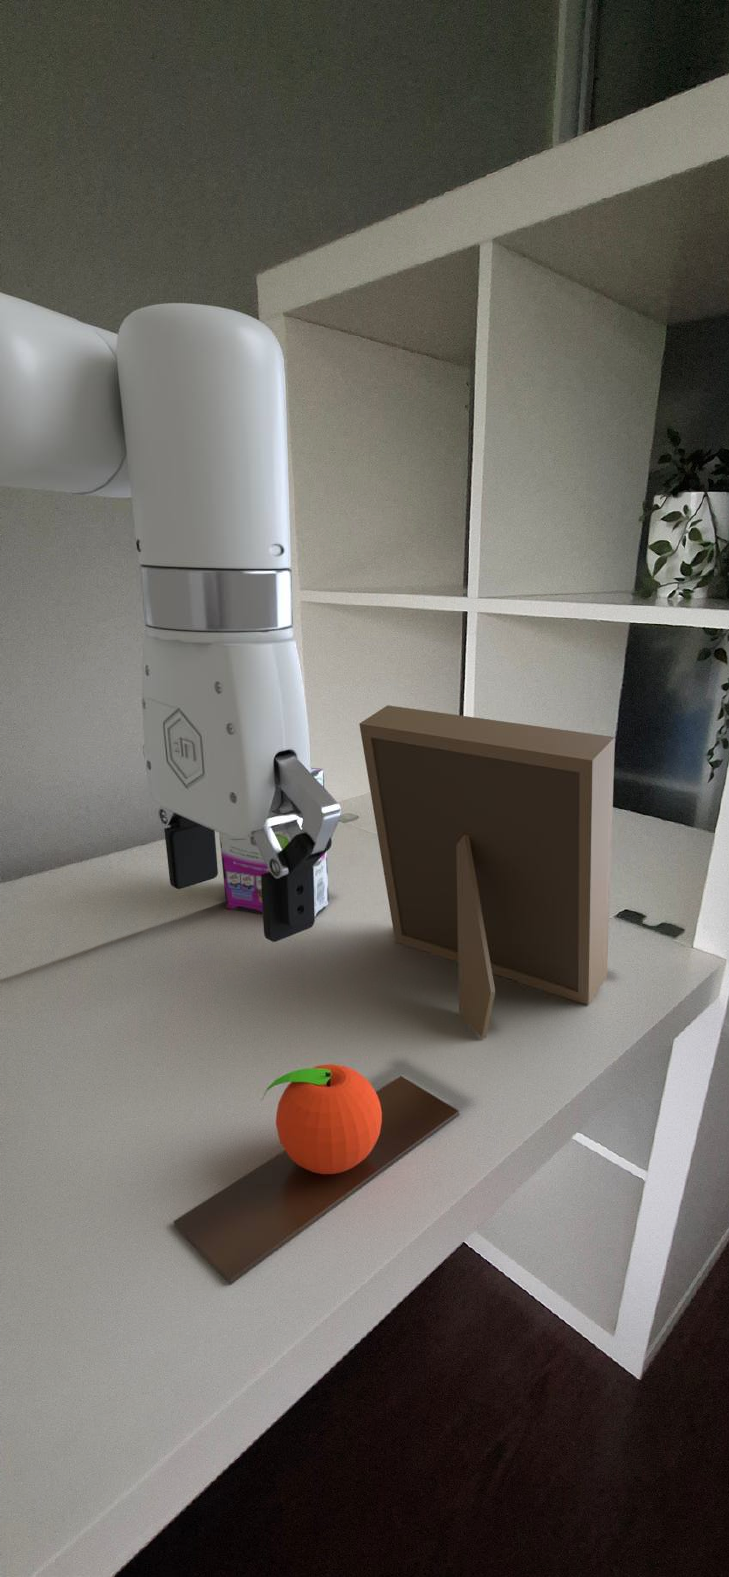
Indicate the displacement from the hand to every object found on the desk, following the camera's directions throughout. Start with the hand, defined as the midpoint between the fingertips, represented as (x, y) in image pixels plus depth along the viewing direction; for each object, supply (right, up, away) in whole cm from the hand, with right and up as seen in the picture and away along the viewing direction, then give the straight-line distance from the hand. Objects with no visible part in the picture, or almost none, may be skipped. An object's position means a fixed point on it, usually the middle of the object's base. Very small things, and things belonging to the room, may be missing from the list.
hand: (239, 906), depth 47 cm
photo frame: (+16, -8, +27) cm, 33 cm away
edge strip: (+5, -18, +5) cm, 19 cm away
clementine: (+4, -17, +5) cm, 19 cm away
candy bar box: (-5, -1, +43) cm, 43 cm away
